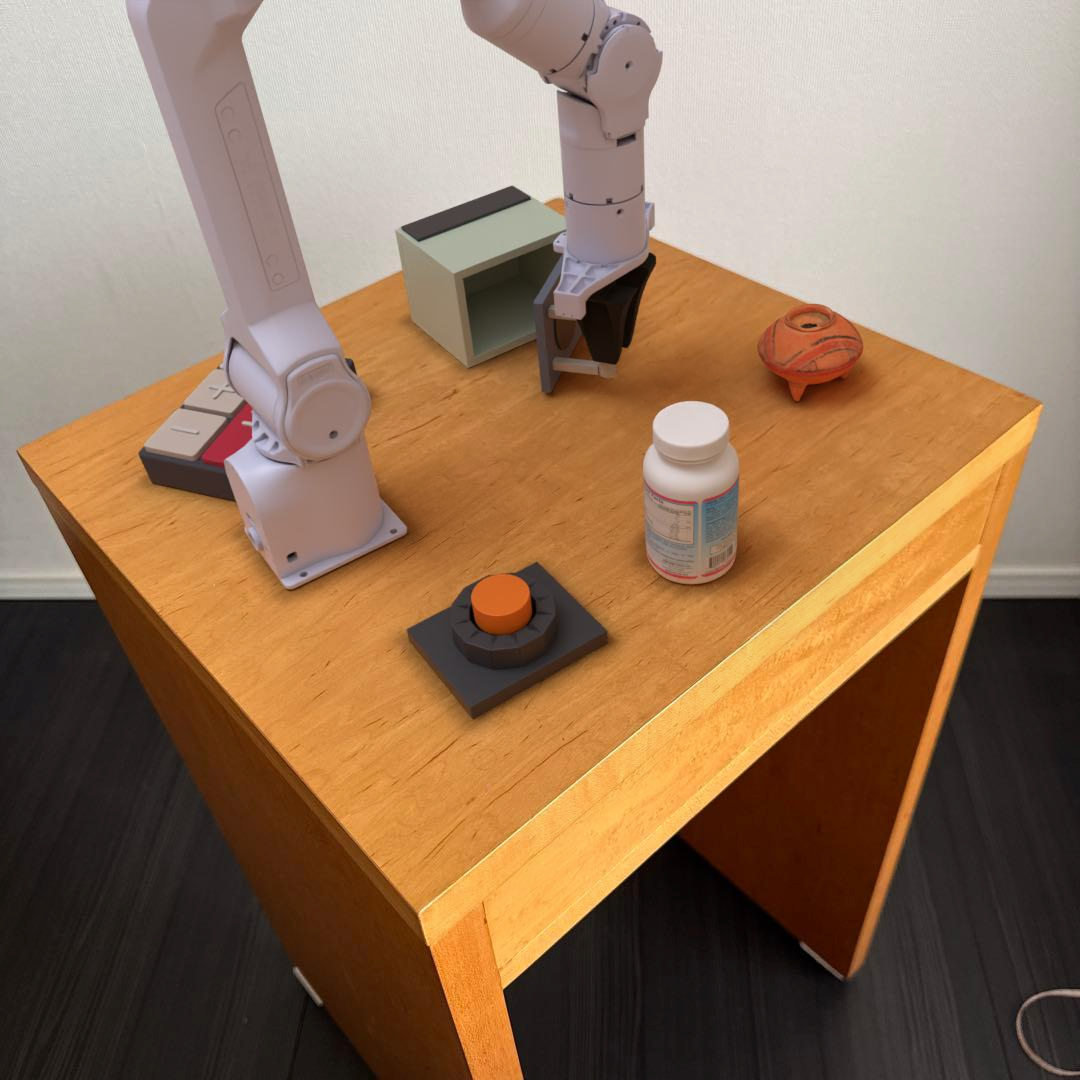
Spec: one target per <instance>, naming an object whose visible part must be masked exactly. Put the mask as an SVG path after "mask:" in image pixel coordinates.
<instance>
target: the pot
mask: <svg viewBox="0 0 1080 1080" xmlns="http://www.w3.org/2000/svg"><path fill="white" fill-rule="evenodd" d="M756 346H757V353H758V356H759V358H760V360H761V362H762V363H763V364H764V365H765V366H766V368H767V369H768V370H769V371H771V372H772V373H773V374H775V375H777V376H779V377H781V378H782V379H785V380H786V381H787V383H788V387H789V390H790V394H791V397H792V399H793V401H795V402H799V401H801V397H802V396H803V393H804V392H805V389H806V387H807V386H808V385H816V384H823V383H827V382H830V381H832V380H835V379H837V378H839V377H840V378H841V379H843V380H844V379H846V378H848V377H849V375H850V373H851V372H852V369H853V367H854V365H856V363H857V362H858V360H859V359H860V358H861V356H862V355H863V352H864V341H863V338H862V336H861V334H860V332H859V331H858V329H857V328H856V326H855V325H854V324H853V323H852V322H851V321H850V320H848V319H847V318H846V317H844V316H843V315H841V314H840V313H838V312H836V311H835V310H833V309H832V308H830V306H829V307H828V306H827V305H823V304H820V303H807V304H801V305H797V306H796V307H794V308H791V309H790V310H789V311H787V313H786V314H785V315H782V316H781V317H779V318H778V319H776V320H775V321H773V322H772V323H771V324H770V325H769V326H768V327H767V328H765V330H764V331H763V332H762V334H761V336H760V337H759V339H758V342H757V345H756Z"/></svg>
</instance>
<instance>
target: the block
mask: <svg viewBox="0 0 1080 1080" xmlns="http://www.w3.org/2000/svg"><path fill="white" fill-rule="evenodd" d="M498 574H499V573H498ZM498 574H497V573H496V574H495V575H498ZM504 574H509V575H514V576H517V577H519V578H521V579H522V580H523V581H525V583H526V584H527V585H528V587H529V590H530V597H531V605H532V616H531V619H530V621H529V622H528V624H527V625H526V626H525V627H523V628H522V629H521V630H519V631H517V632H515V633H512V634H507V635H494V634H490V633H487V632H485V631H483V630H482V629H481V628H480V627H479V626H478V625H477V624H476V622H475V618H474V612H473V607H472V601H471V595H472V591H473V589H474V588H475V586H476V585H477V584H478V583H479V582H480V581H482V580H483V579H485V578H487V577H490V576H493V575H494V574H489V575H486V576H483V577H482V578H480V579H478V580H476V581H473V582H472V583H470V584H468V585H466V586H465V587H463V589H461V591H460V593H459V594H458V595H457V597H456V598H455V599H454V600H453V602H452V603H451V605H450V606H449V607H447V608H445V609H443V610H441V611H439V612H437V613H435V614H433V615H431V616H429V617H427V618H425V619H423V620H421V621H420V622H417V623H416V624H414V625H412V626H410V627H408V628H406V633H407V637H408V641H409V643H410V644H411V646H413V647H414V649H415V650H416V651H417V653H418V654H419V655H420V657H421V658H422V659H423V661H425V662H426V664H427V665H428V666H429V668H430V669H431V670H432V671H433V672H434V674H435V675H436V676H437V678H438V679H439V680H440V681H441V683H442V684H443V685H444V686H445V687H446V688H447V690H448V691H449V693H451V695H452V696H453V697H454V699H455V700H456V701H457V703H458V704H459V705H460V706H461V707H462V709H463V710H465V712H466V714H467V715H469V717H470V718H471V719H472V720H475V719H476V718H479V717H480V716H482V715H484V714H486V713H487V712H489V711H491V710H492V709H495V708H496V707H498V706H499V705H501V704H503V703H505V702H507V701H508V700H510V699H512V698H514V697H515V696H517V695H519V694H521V693H522V692H525V691H526V690H528V689H530V688H532V687H533V686H535V685H537V684H538V683H540V682H542V681H544V680H545V679H547V678H549V677H550V676H553V675H555V674H556V673H558V672H560V671H562V670H563V669H565V668H567V667H569V666H571V665H573V664H574V663H576V662H577V661H579V660H581V659H583V658H584V657H586V656H588V655H589V654H591V653H593V652H595V651H597V650H599V649H601V648H602V647H604V646H606V645H607V644H609V638H608V637H609V635H608V630H607V629H606V628H605V627H604V626H603V625H602V624H601V623H600V622H599V621H598V620H597V619H596V618H595V617H594V616H593V615H592V614H591V613H590V612H589V611H588V609H586V608H585V607H584V606H583V605H582V604H581V603H580V602H579V601H578V600H577V599H576V598H575V597H574V596H573V595H572V594H571V593H569V592H568V590H566V589H565V588H564V587H563V585H561V584H560V582H558V580H557V579H555V577H553V575H552V574H550V573H549V572H548V571H547V570H546V569H545V568H544V567H543V566H542V565H541V564H540V562H538V561H535V562H534V563H531V564H529V565H528V566H525V567H524V568H521V569H520V570H518V571H516V572H506V573H505V572H504Z"/></svg>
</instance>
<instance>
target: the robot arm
mask: <svg viewBox="0 0 1080 1080" xmlns="http://www.w3.org/2000/svg"><path fill="white" fill-rule="evenodd" d="M264 1H265V0H124V3H125V7H126V13H127V18H128V22H129V25H130V27H131V31H132V33H133V36H134V39H135V42H136V45H137V48H138V50H139V53H140V56H141V59H142V62H143V64H144V69H145V70H146V73H147V77H148V80H149V82H150V85H151V88H152V91H153V94H154V97H155V99H156V102H157V103H156V104H157V105H158V109H159V111H160V114H161V118H162V120H163V123H164V125H165V129H166V131H167V133H168V134H167V135H168V137H169V141H170V143H171V147H172V148H173V152H174V155H175V158H176V160H177V164H178V166H179V169H180V172H181V175H182V178H183V181H184V184H185V187H186V189H187V193H188V196H189V198H190V201H191V204H192V207H193V210H194V213H195V216H196V219H197V221H198V224H199V227H200V231H201V233H202V236H203V239H204V242H205V244H206V248H207V250H208V253H209V256H210V259H211V263H212V266H213V267H214V268H213V269H214V271H215V274H216V276H217V280H218V282H219V285H220V288H221V291H222V294H223V297H224V300H225V303H226V306H227V307H226V309H225V310H224V311H223V312H221V314H220V316H219V319H220V323H221V325H222V329H223V332H224V336H225V339H224V340H225V346H224V352H223V359H222V362H223V369H224V375H225V377H226V380H227V382H228V384H229V385H230V387H231V388H232V389H233V390H234V391H235V392H236V394H237V395H239V396H241V397H242V398H244V399H245V400H246V401H247V403H248V404H249V405H250V406H251V407H252V409H253V415H252V439H251V440H250V441H249V442H248V443H247V444H246V445H245V446H244V447H243V448H241V449H240V450H239V451H237V452H236V453H234V454H233V455H231V456H229V457H228V458H226V459H225V460H224V465H225V470H226V474H227V477H228V480H229V482H230V485H231V488H232V491H233V494H234V497H235V500H236V501H235V502H236V505H237V509H238V511H239V513H240V517H241V520H242V522H243V525H244V528H243V529H244V532H245V535H246V536H247V538H248V540H250V543H251V544H252V546H253V548H254V549H255V550H256V552H258V553H259V554H260V555H261V557H262V558H263V560H264V561H265V562H266V564H267V565H268V566H269V568H270V570H271V571H272V572H273V573H274V575H275V577H277V579H278V580H279V582H280V583H281V584H282V586H283V587H284V589H286V590H295V589H297V588H298V587H301V586H303V585H305V584H307V583H309V582H311V581H313V580H315V579H318V578H319V577H321V576H324V575H325V574H327V573H330V572H332V571H334V570H335V569H337V568H340V567H342V566H344V565H346V564H348V563H350V562H352V561H354V560H356V559H358V558H360V557H362V556H365V555H367V554H369V553H371V552H373V551H375V550H377V549H379V548H382V547H383V546H385V545H388V544H389V543H391V542H393V541H395V540H398V539H400V538H402V537H404V536H405V535H407V534H408V527H407V525H406V524H405V523H404V522H403V521H402V520H401V518H400V517H399V516H398V515H397V514H396V513H395V512H394V511H393V510H392V508H391V507H390V506H389V505H388V504H387V503H386V502H385V501H384V500H383V499H382V498H381V496H380V493H379V488H378V484H377V480H376V475H375V471H374V467H373V462H372V458H371V454H370V450H369V445H368V442H367V437H366V433H365V429H366V427H367V425H368V423H369V420H370V416H371V412H372V398H371V395H370V391H369V389H368V387H367V385H366V383H365V382H364V381H363V380H362V379H361V378H360V377H359V376H358V374H357V375H356V374H355V373H354V372H352V370H351V369H350V368H349V366H348V365H347V363H346V360H345V358H346V357H345V354H344V350H343V347H342V345H341V343H340V341H339V339H338V338H337V336H336V334H335V332H334V330H333V329H332V328H331V326H330V324H329V322H328V321H327V319H326V318H325V316H324V314H323V312H322V311H321V309H320V307H319V306H318V303H317V301H316V299H315V295H314V291H313V288H312V284H311V280H310V277H309V273H308V271H307V267H306V263H305V259H304V256H303V253H302V249H301V245H300V241H299V239H298V234H297V230H296V227H295V224H294V220H293V217H292V214H291V213H292V212H291V209H290V206H289V203H288V199H287V195H286V193H285V188H284V185H283V181H282V177H281V175H280V174H281V173H280V170H279V167H278V164H277V161H276V157H275V153H274V149H273V146H272V142H271V139H270V135H269V131H268V128H267V124H266V122H265V121H266V120H265V118H264V114H263V111H262V107H261V104H260V103H261V102H260V100H259V97H258V93H257V90H256V89H257V88H256V86H255V82H254V78H253V75H252V71H251V68H250V64H249V61H248V57H247V54H246V50H245V47H244V46H245V45H244V43H243V35H244V32H245V30H246V29H247V27H248V26H249V24H250V23H251V21H252V19H253V18H254V17H255V14H257V11H258V10H259V8H260V7H261V5H262V3H264ZM459 2H460V7H461V8H460V9H461V14H462V17H463V20H464V23H465V25H466V26H467V28H468V29H469V30H470V31H471V32H472V33H473V34H475V35H476V36H478V37H480V38H481V39H484V40H485V41H487V42H488V43H490V44H491V45H493V46H495V47H496V48H497V49H500V50H501V51H503V52H504V53H506V54H508V55H509V56H510V57H513V58H514V59H516V60H518V61H519V62H520V63H522V64H524V65H526V66H527V67H529V68H530V69H532V70H534V71H536V72H537V74H538V75H539V77H540V79H541V80H542V81H543V82H544V84H547V85H551V84H552V85H554V86H555V87H557V88H558V89H557V90H556V105H557V116H558V118H557V119H558V132H559V133H558V134H559V145H560V157H561V158H560V160H561V174H562V175H561V176H562V184H563V185H562V186H563V202H564V217H565V219H566V232H564V233H561V234H560V235H559V236H558V237H557V238H556V239H555V241H554V242H553V248H554V251H555V252H557V253H563V254H564V257H563V264H562V271H561V278H560V282H559V284H558V286H557V288H556V289H555V291H554V304H555V315H556V316H562V317H566V318H573V319H576V320H577V322H578V324H579V326H580V329H581V331H582V337H583V339H584V342H585V344H586V348H587V350H588V352H589V355H590V358H591V361H596V362H601V363H607V364H612V365H616V364H617V365H618V363H619V362H620V359H621V355H622V351H623V348H624V349H628V348H629V347H630V346H631V343H632V341H633V338H634V337H633V336H634V332H635V329H636V323H637V318H638V313H639V309H640V304H641V301H642V297H643V294H644V291H645V289H646V286H647V283H648V281H649V279H650V277H651V275H652V273H653V271H654V269H655V268H656V265H657V256H656V255H655V254H654V253H652V252H650V231H652V230H653V228H654V227H655V226H656V213H655V211H656V210H655V202H653V201H646V176H645V175H646V173H645V172H646V171H645V170H646V167H645V166H646V165H645V126H646V120H647V119H649V117H650V115H649V113H650V112H649V102H650V97H651V94H652V92H653V90H654V88H655V86H656V84H657V82H658V79H659V76H660V74H661V70H662V65H663V56H664V52H663V50H659V49H658V48H657V45H656V42H655V39H654V37H653V35H651V33H652V31H651V29H650V27H649V25H648V24H647V22H645V20H643V18H641V17H639V16H637V15H636V14H633V13H630V12H627V11H624V10H621V9H618V8H615V7H612V6H611V5H607V2H606V1H605V0H459Z"/></svg>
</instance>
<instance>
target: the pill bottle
mask: <svg viewBox="0 0 1080 1080" xmlns="http://www.w3.org/2000/svg"><path fill="white" fill-rule="evenodd" d="M728 417H729V416H728V415H727V414H726V413H725V411H724V410H722V409H721V408H720V407H718V406H716V405H714V404H712V403H708V402H704V401H699V400H686V401H680V402H675V403H672V404H670V405H668V406H666V407H664V408H663V409H661V410H660V411H659V412H657V414H656V415H655V416H654V418H653V421H652V443H651V445H649V447H648V448H647V450H646V451H645V452H646V453H645V454H644V457H643V461H642V485H643V506H644V507H643V508H644V528H645V529H644V530H645V551H646V557H647V560H648V562H649V564H650V566H651V567H652V568H653V569H654V570H655V572H656V573H657V574H658V575H660V576H661V577H663V578H664V579H667V580H668V581H671V582H673V583H677V584H684V585H699V584H705V583H709V582H712V581H715V580H717V579H719V578H721V577H722V576H724V575H725V574H726V573H727V572H728V571H729V570H731V568H732V566H733V565H734V563H735V562H736V561H735V560H736V557H737V549H738V523H739V521H738V520H739V496H740V495H739V494H740V459H739V455H738V453H737V451H736V449H735V448H734V446H733V445H732V444H731V443H730V442H729V441H730V421H729V418H728Z"/></svg>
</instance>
